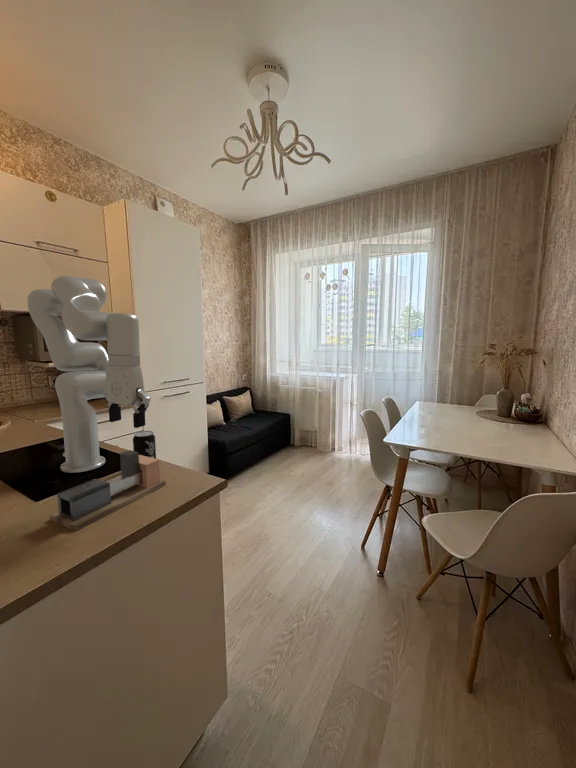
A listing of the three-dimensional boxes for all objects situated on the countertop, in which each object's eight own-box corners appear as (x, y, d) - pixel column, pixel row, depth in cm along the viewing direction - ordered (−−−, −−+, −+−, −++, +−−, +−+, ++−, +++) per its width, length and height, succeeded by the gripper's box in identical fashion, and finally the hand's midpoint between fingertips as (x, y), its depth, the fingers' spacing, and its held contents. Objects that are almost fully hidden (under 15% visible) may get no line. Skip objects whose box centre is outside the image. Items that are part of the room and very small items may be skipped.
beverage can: (141, 474, 100) (139, 437, 99) (130, 469, 104) (128, 433, 103) (160, 467, 106) (158, 432, 104) (149, 463, 109) (148, 429, 108)
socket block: (128, 482, 92) (126, 459, 91) (140, 476, 96) (139, 454, 95) (147, 488, 89) (146, 464, 88) (160, 481, 93) (158, 459, 92)
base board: (50, 519, 75) (49, 514, 75) (141, 478, 98) (141, 474, 98) (75, 531, 71) (75, 526, 71) (165, 485, 93) (165, 481, 93)
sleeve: (59, 515, 75) (57, 493, 74) (96, 498, 83) (95, 478, 82) (74, 521, 72) (72, 499, 72) (111, 503, 80) (109, 483, 80)
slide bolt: (87, 499, 80) (84, 465, 78) (141, 475, 94) (140, 446, 93) (96, 503, 78) (93, 468, 77) (150, 478, 92) (149, 448, 91)
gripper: (89, 359, 85) (93, 422, 87) (134, 364, 77) (137, 432, 80) (115, 358, 91) (118, 416, 94) (159, 362, 84) (161, 425, 86)
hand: (127, 423), depth 87 cm, fingers open, 9 cm apart
